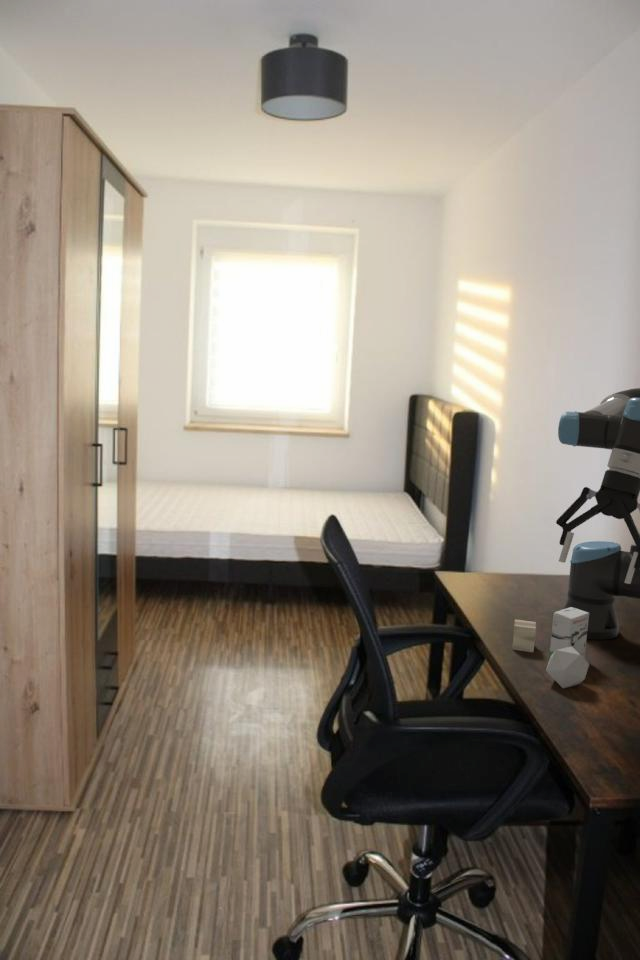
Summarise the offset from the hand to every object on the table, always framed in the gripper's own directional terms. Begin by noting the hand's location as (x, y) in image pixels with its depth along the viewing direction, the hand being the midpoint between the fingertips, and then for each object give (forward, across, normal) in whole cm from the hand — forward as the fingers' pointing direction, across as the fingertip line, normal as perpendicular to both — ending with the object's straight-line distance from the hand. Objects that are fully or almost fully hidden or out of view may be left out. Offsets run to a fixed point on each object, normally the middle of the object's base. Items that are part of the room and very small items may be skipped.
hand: (593, 572), depth 171 cm
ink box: (+23, -4, +24) cm, 33 cm away
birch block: (+24, -15, +25) cm, 38 cm away
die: (+26, 0, +10) cm, 27 cm away
